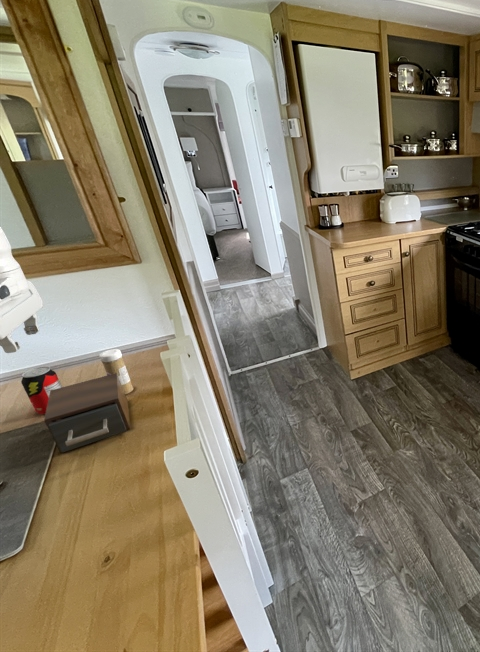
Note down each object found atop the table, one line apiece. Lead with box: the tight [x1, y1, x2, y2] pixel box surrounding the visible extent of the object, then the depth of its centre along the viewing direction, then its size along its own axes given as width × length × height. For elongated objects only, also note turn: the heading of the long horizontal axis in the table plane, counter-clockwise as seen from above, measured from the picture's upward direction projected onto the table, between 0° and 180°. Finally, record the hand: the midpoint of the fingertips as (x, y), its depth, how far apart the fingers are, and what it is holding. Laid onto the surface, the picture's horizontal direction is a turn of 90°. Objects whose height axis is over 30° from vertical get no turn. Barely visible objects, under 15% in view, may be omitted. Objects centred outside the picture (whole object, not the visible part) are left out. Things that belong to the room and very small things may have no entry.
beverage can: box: [20, 366, 63, 415], centre depth 102 cm, size 6×6×12 cm
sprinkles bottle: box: [98, 348, 134, 395], centre depth 109 cm, size 5×5×14 cm
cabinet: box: [43, 373, 131, 454], centre depth 97 cm, size 15×13×10 cm
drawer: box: [49, 402, 127, 453], centre depth 93 cm, size 19×12×8 cm, turn 42°
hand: (23, 341), depth 84 cm, fingers open, 8 cm apart
